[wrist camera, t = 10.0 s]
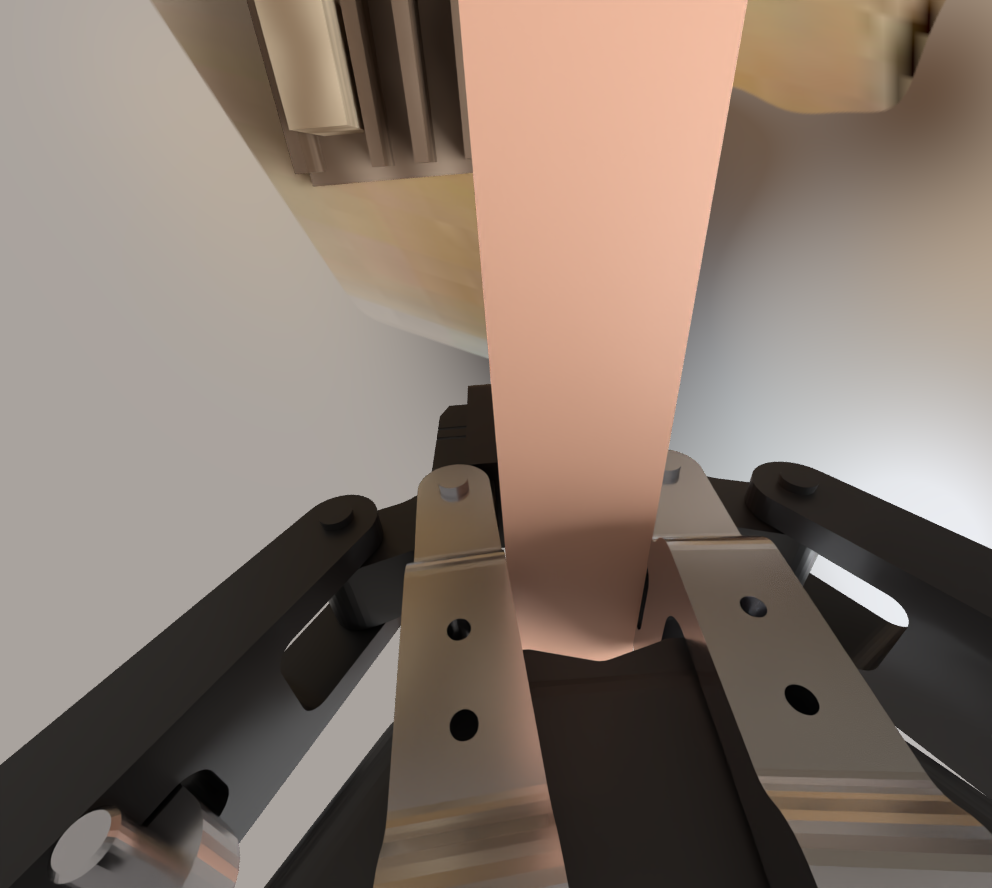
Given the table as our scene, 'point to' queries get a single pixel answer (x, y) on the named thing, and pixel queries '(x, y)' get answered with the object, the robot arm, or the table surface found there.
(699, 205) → the terracotta board
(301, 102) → the offcut stack
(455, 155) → the walnut rack
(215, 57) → the table surface
